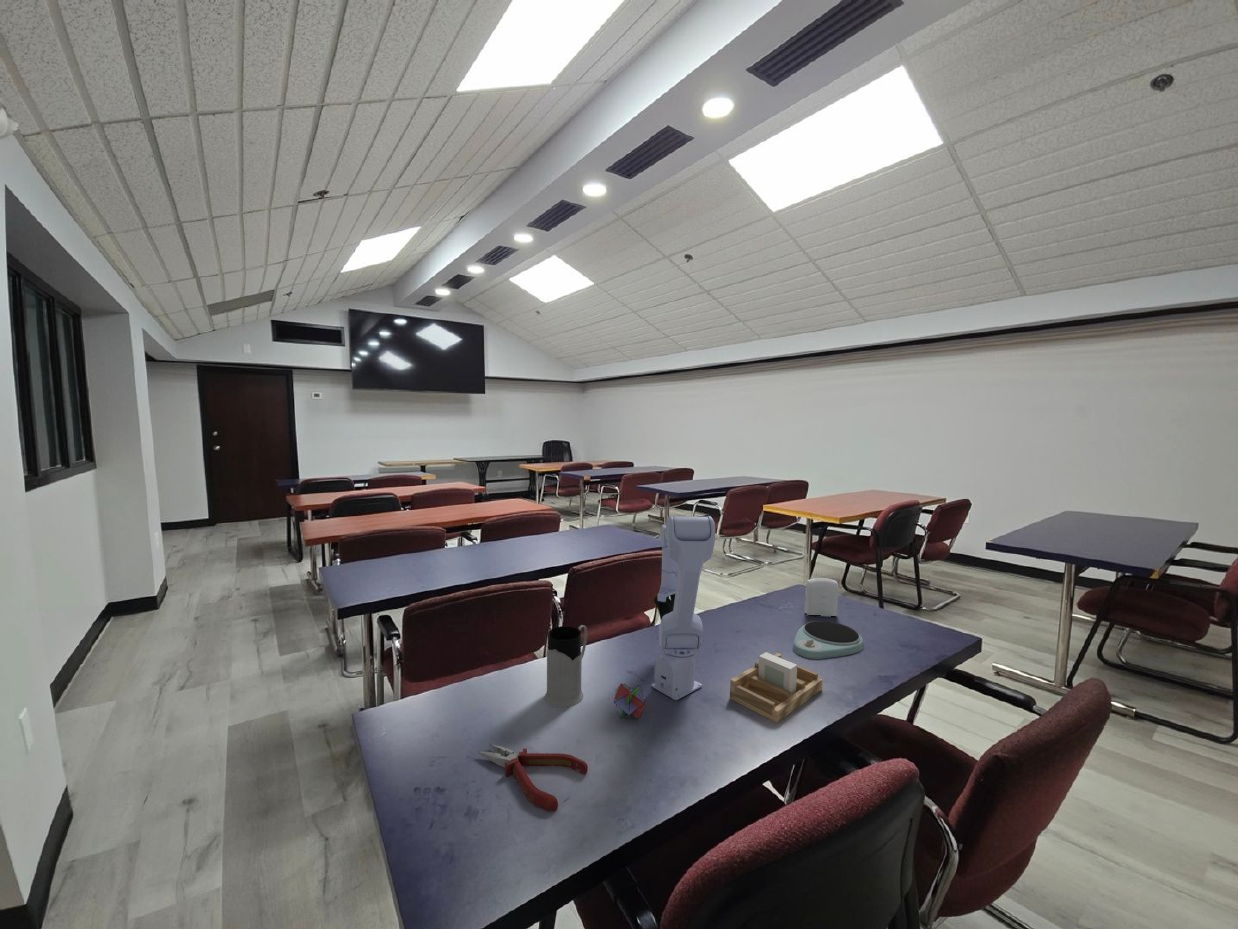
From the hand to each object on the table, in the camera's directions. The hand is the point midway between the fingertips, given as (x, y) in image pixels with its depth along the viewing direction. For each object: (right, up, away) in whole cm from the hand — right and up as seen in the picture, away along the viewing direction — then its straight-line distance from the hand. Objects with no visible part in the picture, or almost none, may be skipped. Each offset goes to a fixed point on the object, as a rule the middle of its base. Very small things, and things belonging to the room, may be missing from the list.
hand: (671, 619), depth 132 cm
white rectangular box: (+23, -11, -17) cm, 31 cm away
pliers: (-29, -14, -43) cm, 54 cm away
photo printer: (+53, -8, +30) cm, 61 cm away
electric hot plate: (+45, -11, +10) cm, 47 cm away
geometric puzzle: (-12, -13, -27) cm, 32 cm away
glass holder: (-25, -11, -17) cm, 33 cm away
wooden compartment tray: (+23, -12, -17) cm, 31 cm away
